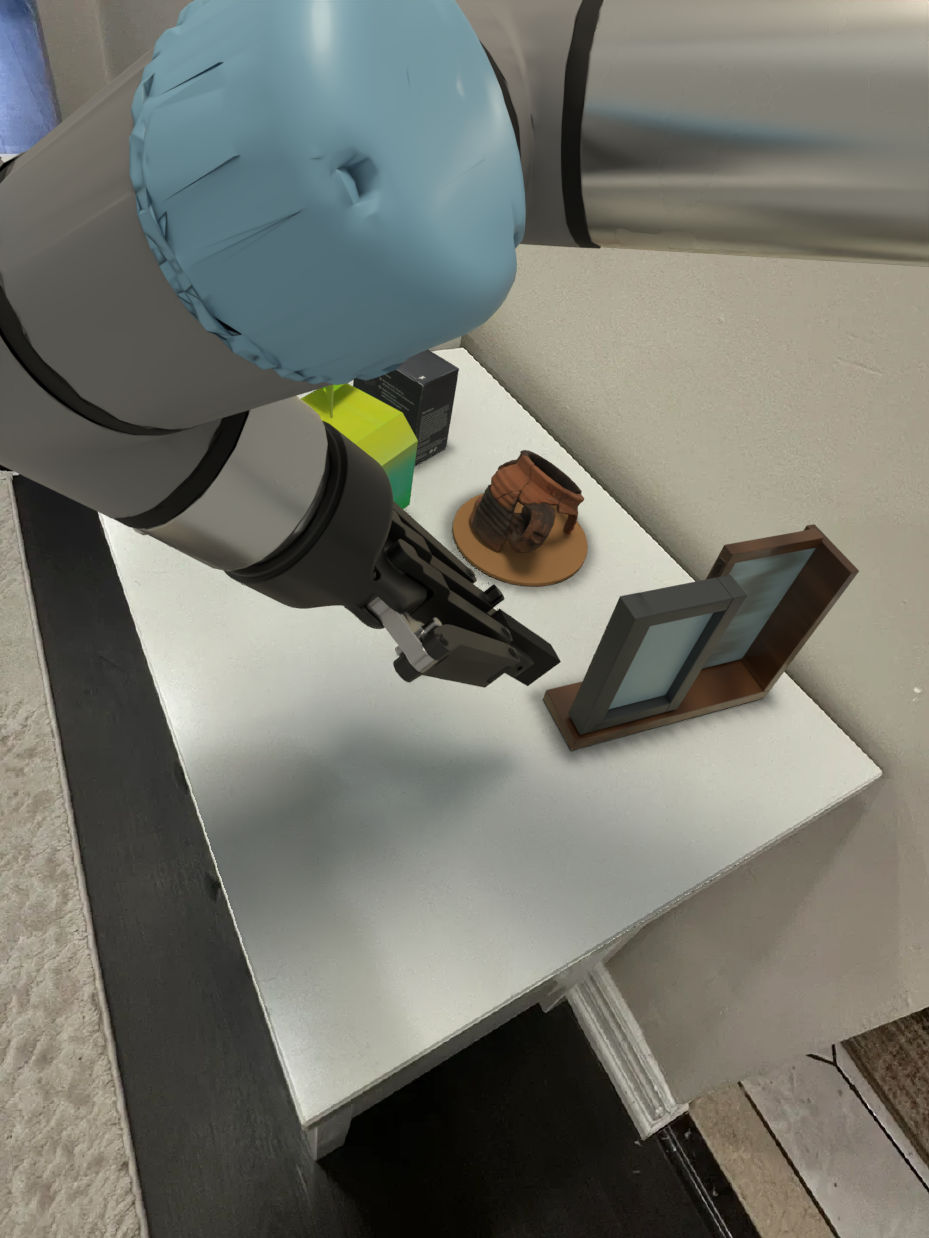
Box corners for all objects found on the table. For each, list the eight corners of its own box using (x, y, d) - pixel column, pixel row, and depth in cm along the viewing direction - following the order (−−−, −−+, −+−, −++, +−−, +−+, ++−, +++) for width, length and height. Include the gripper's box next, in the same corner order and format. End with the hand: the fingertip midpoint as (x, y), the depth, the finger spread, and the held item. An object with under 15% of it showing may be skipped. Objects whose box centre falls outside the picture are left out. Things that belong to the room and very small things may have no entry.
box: (448, 449, 81) (462, 367, 74) (411, 468, 77) (421, 385, 70) (387, 407, 84) (394, 325, 77) (348, 424, 81) (352, 340, 74)
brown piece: (570, 751, 57) (635, 614, 46) (542, 698, 60) (596, 557, 49) (764, 698, 64) (863, 566, 53) (731, 653, 67) (817, 519, 56)
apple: (407, 519, 72) (425, 377, 61) (339, 574, 66) (345, 427, 55) (319, 468, 75) (322, 324, 64) (246, 516, 69) (235, 365, 58)
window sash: (579, 735, 57) (635, 618, 47) (567, 713, 58) (619, 595, 48) (677, 709, 60) (748, 595, 50) (664, 689, 61) (731, 574, 51)
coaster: (595, 592, 69) (596, 589, 69) (453, 579, 68) (454, 576, 67) (577, 500, 78) (578, 497, 78) (451, 487, 76) (452, 483, 76)
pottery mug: (456, 499, 75) (505, 430, 72) (532, 542, 79) (581, 478, 76) (473, 558, 65) (530, 482, 62) (558, 605, 69) (617, 534, 66)
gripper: (182, 455, 36) (458, 625, 54) (234, 669, 28) (535, 783, 46) (294, 344, 34) (542, 559, 52) (382, 542, 26) (637, 713, 44)
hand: (539, 665), depth 49 cm, fingers closed
